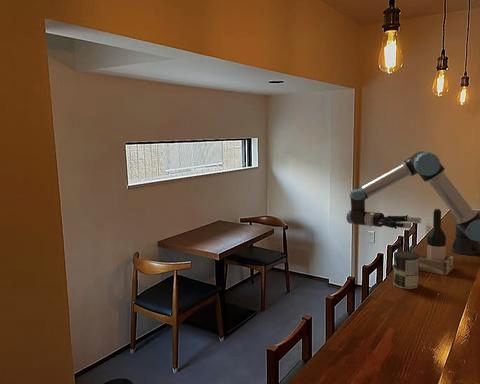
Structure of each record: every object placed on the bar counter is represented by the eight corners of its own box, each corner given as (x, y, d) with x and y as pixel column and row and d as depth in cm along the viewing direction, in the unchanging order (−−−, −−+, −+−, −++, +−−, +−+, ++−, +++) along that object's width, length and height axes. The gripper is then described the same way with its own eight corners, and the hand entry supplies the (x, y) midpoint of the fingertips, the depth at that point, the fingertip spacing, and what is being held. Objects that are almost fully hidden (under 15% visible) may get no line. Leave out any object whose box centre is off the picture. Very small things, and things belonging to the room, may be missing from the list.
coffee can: (392, 287, 174) (392, 256, 172) (394, 279, 183) (394, 250, 181) (417, 290, 169) (418, 258, 167) (418, 282, 178) (419, 252, 176)
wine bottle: (447, 272, 189) (449, 210, 185) (428, 271, 191) (430, 210, 187) (442, 266, 197) (444, 207, 193) (424, 266, 199) (426, 207, 195)
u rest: (427, 263, 203) (427, 252, 202) (453, 268, 194) (453, 256, 194) (418, 270, 194) (418, 258, 193) (445, 275, 185) (446, 262, 185)
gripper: (384, 221, 222) (424, 225, 208) (364, 230, 204) (406, 235, 190) (384, 208, 221) (424, 211, 207) (364, 216, 203) (406, 220, 189)
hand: (415, 223), depth 198 cm, fingers open, 13 cm apart
